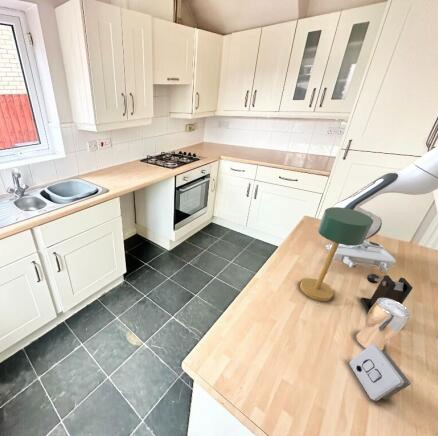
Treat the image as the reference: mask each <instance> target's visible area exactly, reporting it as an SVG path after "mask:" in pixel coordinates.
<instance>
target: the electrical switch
mask: <svg viewBox="0 0 438 436" xmlns="http://www.w3.org/2000/svg"><path fill="white" fill-rule="evenodd" d="M349 366H350V368H351V369H352V371H353V372H354V375H355V376H356V377H357V379H358V381H359V382H360V384H361V385H362V388H363V389H364V391H365V392H366V394H367V396H368V397H369V398H370V399H371V400H373V401H376V402H377V401H379V400H381V399H382V400H388V399H389V398H391V397H392V396H395V395H396V394H398V393H399V392H401V391H402V390H404V389H405V388H408V387H409V386H411V385H412V383H411V382H410V380H409V379H408V377H407V376H406V375H405V374H404V372H403V371H402V370H401V369H400V367H399V366H398V365H397V363H396V362H395V361H394V360H393V358H392V357H391V356H390V354H389V353H388V352H387V351H386V350H385V351H384V350H382V351H381V350H380V349H379V348H378V346H376V345H370V346H369V347H367V348H364V350H362V351H361V352H360V353H358V354H357V355H356V356H355V357H354V358H352V359H351V360H349Z"/></svg>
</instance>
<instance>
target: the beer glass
mask: <svg viewBox="0 0 438 436" xmlns="http://www.w3.org/2000/svg"><path fill="white" fill-rule="evenodd" d="M410 316H411V311H410V310H409V309H408V308H407V307H406V306H405V305H404V304H403V303H402V304H401V303H399V302H397V301H395V300H392V299H389V298H379V299H377V301H376V302H375V303H374V305H373V306H372V307H371V309H370V310H369V312H367V315H366V318H365V322H364V325H363V327H362V329H361V330H360V331H359V332H358V333H357V334H356V338H355V339H356V341H357V342H358V343H359V345H361V346H362V347H363V348H364V349H366V348H367V347H369V346H370V345H376V346H378V348H379V349H380V350H381V351H384V348H385V345H386V343H387V341H389V340H390V339H391V338H393V337H394V336H396V335H397V334H398V333H399V332H401V330H402V329H403V328H404V326H405V325H406V323H407V321H408V319H409V317H410Z"/></svg>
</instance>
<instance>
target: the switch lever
mask: <svg viewBox="0 0 438 436" xmlns="http://www.w3.org/2000/svg"><path fill="white" fill-rule="evenodd" d="M382 279H383V278H380V276H379V275H378V274H377V273H368V275H366V280H367V282H368V283H371V284H375V285H376V284H378V283H380V282H381V281H382ZM392 281H393V282H394V283H395V284H396V286H395V288H394V290H399V291H403V285H404V283H401V282H398V280H392Z"/></svg>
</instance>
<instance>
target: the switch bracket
mask: <svg viewBox="0 0 438 436" xmlns="http://www.w3.org/2000/svg"><path fill="white" fill-rule="evenodd" d="M381 279H382V281H381V282H379V284H378V285H377V287H376V289H375V290H374V293H373V294H372V296H371V298H367V297H361V298H360V302H361V304H362V306H363V307H364V309H365V310H366V312H367V313H368V312H369V310H370V309H371V307H372V306H373V305H374V303H375V302H376V301H377V299H379V298H389V299H392V300H395V301H397V302H399V303H401V304H402V305H403V303H404V302H405V301H406V299H407V297H408V296H409V294H410V293H411V292H412V290H413V289H414V287H413V286H412V285H411V283H410V282H409V281H408V280H407V279H406V278H404V277H400V278H399V279H398V280H397V282H401V283H404V285H403V291H399V290H394V288H395V286H396V284H395V283H394V282H393V281H394V280H393V279H392V278H391V277H390V275H388V274H384V276H383V277H382V278H381Z"/></svg>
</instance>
